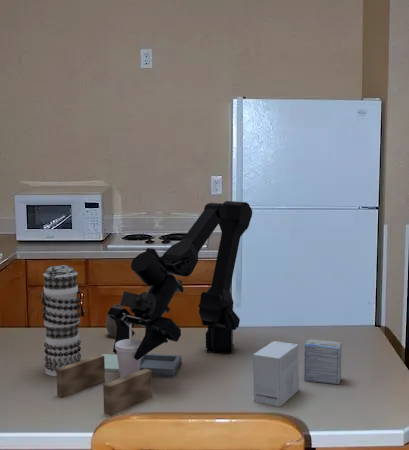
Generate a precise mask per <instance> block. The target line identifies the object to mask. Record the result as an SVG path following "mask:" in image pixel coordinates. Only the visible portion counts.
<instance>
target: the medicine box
mask: <svg viewBox="0 0 409 450" xmlns="http://www.w3.org/2000/svg"><path fill="white" fill-rule="evenodd" d="M342 345H343V343H342V342H341V341H340V342H339V341H329V340H320V339H319V340H318V339H307V341H305V344H304V348H303V349H304V355H303V356H304V360H303V361H304V363H303V366H304V367H303V370H304V371H303V372H304V373H303V374H304V375H303V381H305V382H315V383H323V384H332V385H339V384H340V381H341V379H342Z"/></svg>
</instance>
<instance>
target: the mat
mask: <svg viewBox="0 0 409 450" xmlns="http://www.w3.org/2000/svg"><path fill="white" fill-rule="evenodd" d="M100 355H103V356H104V365H105V372H119V365H118V358H117V354H109V353H101V354H100Z"/></svg>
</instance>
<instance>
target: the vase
mask: <svg viewBox="0 0 409 450" xmlns="http://www.w3.org/2000/svg"><path fill="white" fill-rule="evenodd" d="M114 306H117V307H121V308H125V306H121V305H120V303H119V304H118V303H116V304H114V305H112V307H114ZM105 328H106V330H107V333H108V334H109V335H110V336H111V337H112V338H116V332H117V326H116V323H115V322H114V321H113V320H112V319H111V318H110V317H109V316H108V315H107V317H106V320H105Z"/></svg>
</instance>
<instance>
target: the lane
mask: <svg viewBox="0 0 409 450" xmlns="http://www.w3.org/2000/svg"><path fill="white" fill-rule="evenodd" d="M56 371H57V376H56V392H57V393H56V396H58V397H61V398H65V397H67V396H71V395H73V394H75V393H79V392H81V391H84V390H86V389H88V388H91V387H94V386H97V385H100V384H102V383H104V382H106V380H105V379H106V375H105V374H106V373H105V372H106V371H105V365H104V356H103V355H101V354H96V355H93V356H90V357H87V358H84V359H80V361H77V362H75V363H72V364H69V365H66V366H63V367H60V368H57V369H56ZM152 378H153V377H152V370H149V369H146V368H145V369H143V370H140V371H138V372H135V373H132V374H130V375H127V376H125V377H122V378H120V377H119V378H117V379H115V380H112V381H109V382H107V383H104V384H103V386H102V387H103V389H102V391H103V414H105V415H107V416H113V415H115V414H118V413H121V412H123V411H124V410H127V409H130V408H132V407H133V406H136V405H138V404H140V403H143V402H144V401H147V400H149V399H152V398H153V379H152Z"/></svg>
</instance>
